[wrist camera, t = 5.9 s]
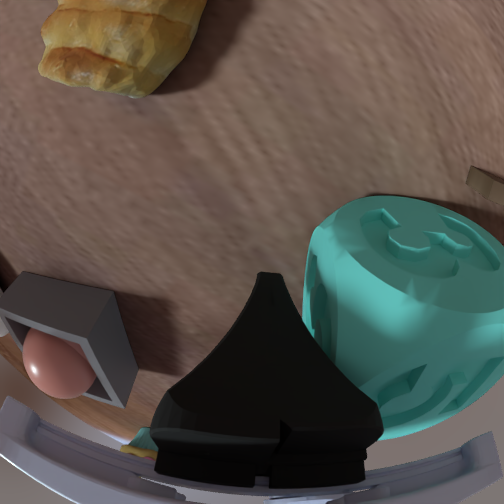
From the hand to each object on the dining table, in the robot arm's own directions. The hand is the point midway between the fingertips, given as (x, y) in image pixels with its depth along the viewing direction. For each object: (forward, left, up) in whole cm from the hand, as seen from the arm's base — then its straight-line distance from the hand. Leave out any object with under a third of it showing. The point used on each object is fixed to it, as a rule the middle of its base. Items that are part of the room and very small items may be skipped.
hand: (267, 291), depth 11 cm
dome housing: (-9, +13, -3) cm, 16 cm away
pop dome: (-9, +14, -2) cm, 16 cm away
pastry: (+11, +7, -3) cm, 14 cm away
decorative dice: (0, -6, -3) cm, 7 cm away
